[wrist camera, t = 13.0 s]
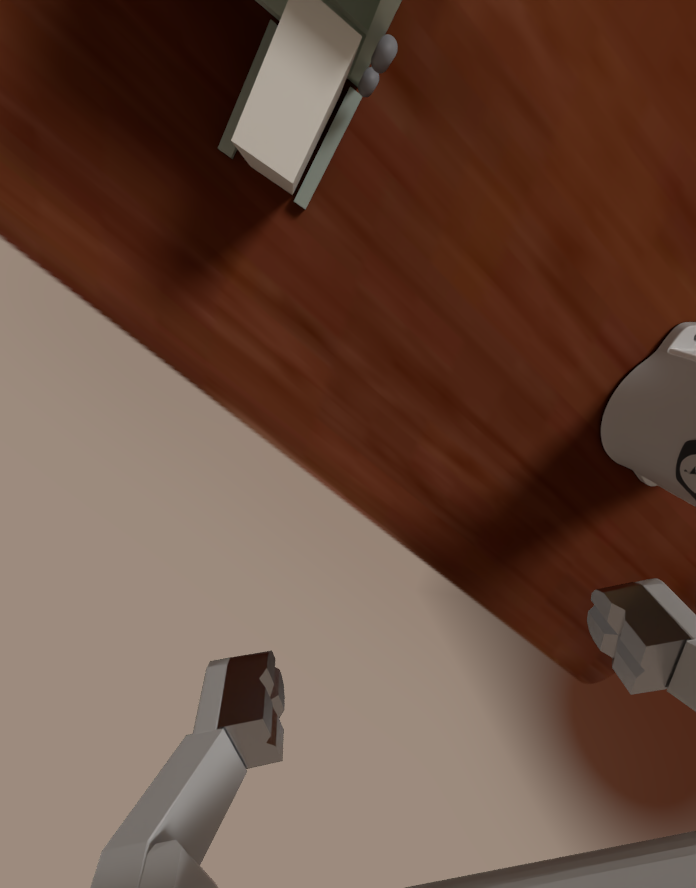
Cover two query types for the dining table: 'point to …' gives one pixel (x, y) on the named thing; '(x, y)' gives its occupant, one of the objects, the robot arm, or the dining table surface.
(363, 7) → the cabinet
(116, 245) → the dining table surface
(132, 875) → the robot arm
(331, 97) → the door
